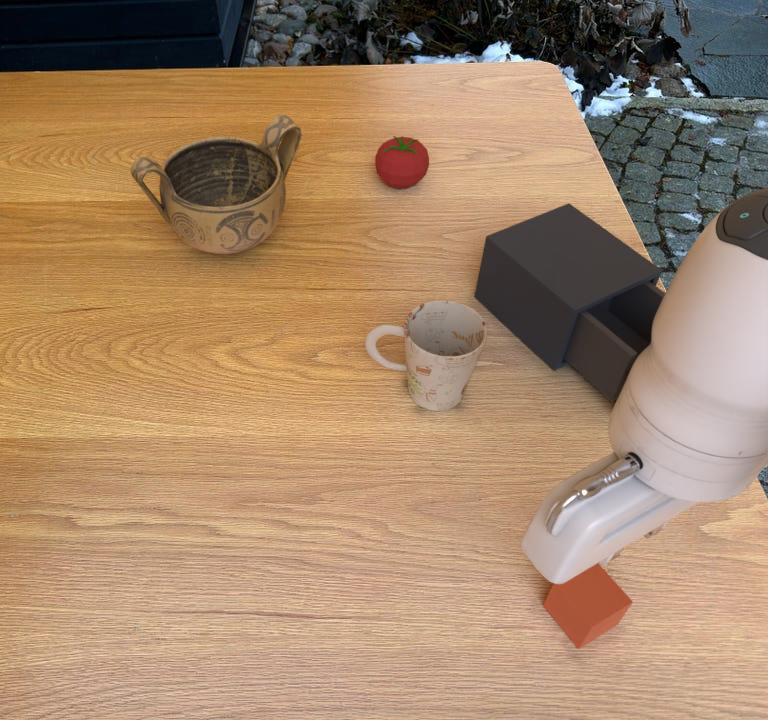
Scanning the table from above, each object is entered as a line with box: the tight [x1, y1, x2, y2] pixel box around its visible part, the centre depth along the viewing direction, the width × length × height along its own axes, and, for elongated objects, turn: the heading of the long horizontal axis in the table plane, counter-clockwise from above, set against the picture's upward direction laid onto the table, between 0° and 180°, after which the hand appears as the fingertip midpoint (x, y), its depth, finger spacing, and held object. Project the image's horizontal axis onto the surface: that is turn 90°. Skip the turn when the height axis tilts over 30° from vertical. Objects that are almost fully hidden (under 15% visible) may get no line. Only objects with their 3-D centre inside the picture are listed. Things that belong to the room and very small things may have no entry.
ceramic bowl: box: [130, 113, 303, 255], centre depth 98 cm, size 22×17×15 cm
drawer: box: [563, 281, 666, 402], centre depth 80 cm, size 18×11×8 cm, turn 28°
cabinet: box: [473, 203, 663, 372], centre depth 88 cm, size 15×13×10 cm
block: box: [542, 563, 634, 650], centre depth 64 cm, size 4×4×4 cm
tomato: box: [374, 135, 430, 189], centre depth 109 cm, size 8×8×8 cm
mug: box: [364, 299, 488, 412], centre depth 80 cm, size 8×13×10 cm, turn 71°
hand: (624, 540), depth 56 cm, fingers open, 3 cm apart
